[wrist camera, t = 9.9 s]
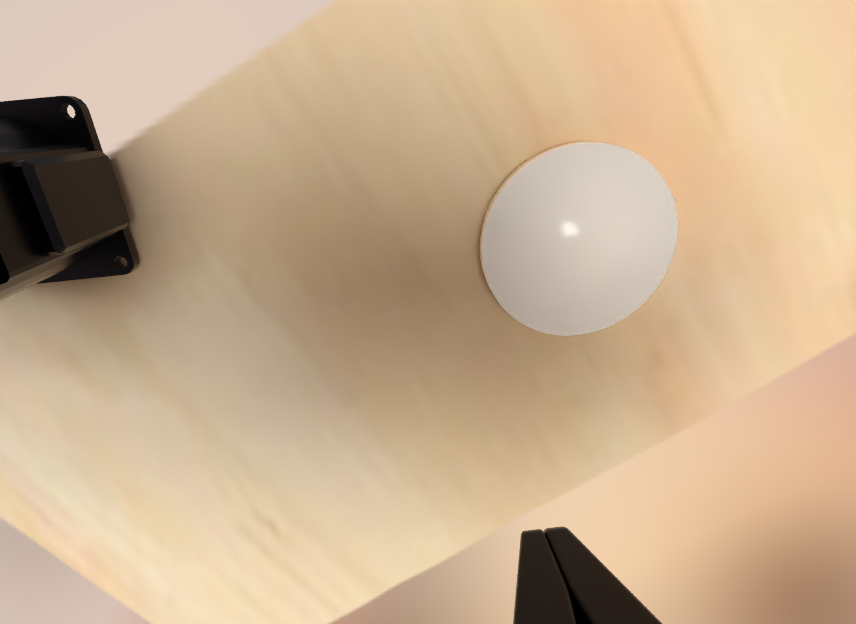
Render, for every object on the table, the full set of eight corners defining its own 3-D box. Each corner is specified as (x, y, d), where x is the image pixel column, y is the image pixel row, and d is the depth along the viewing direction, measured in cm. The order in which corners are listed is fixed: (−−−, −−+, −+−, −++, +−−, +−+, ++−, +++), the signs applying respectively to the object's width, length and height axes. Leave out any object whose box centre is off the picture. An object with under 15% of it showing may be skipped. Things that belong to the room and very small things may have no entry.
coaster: (483, 337, 22) (487, 345, 21) (474, 151, 19) (477, 153, 18) (658, 318, 22) (667, 325, 21) (677, 131, 19) (688, 132, 18)
